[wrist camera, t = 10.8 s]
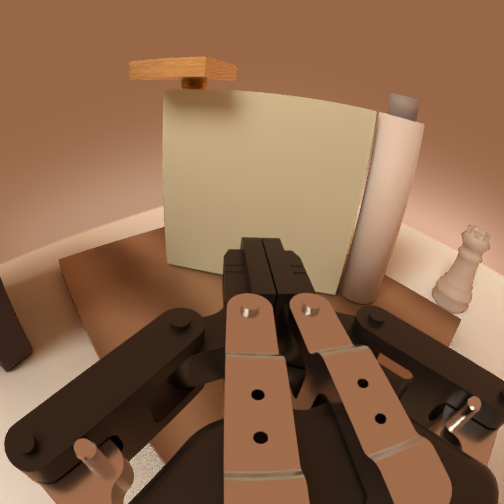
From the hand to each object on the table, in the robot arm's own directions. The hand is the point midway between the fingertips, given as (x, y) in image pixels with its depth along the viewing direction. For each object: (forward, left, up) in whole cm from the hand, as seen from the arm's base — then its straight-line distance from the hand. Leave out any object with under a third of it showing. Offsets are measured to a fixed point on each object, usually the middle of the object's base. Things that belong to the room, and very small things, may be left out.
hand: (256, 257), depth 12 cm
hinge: (+8, +6, -8) cm, 13 cm away
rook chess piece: (+21, -7, -9) cm, 24 cm away
